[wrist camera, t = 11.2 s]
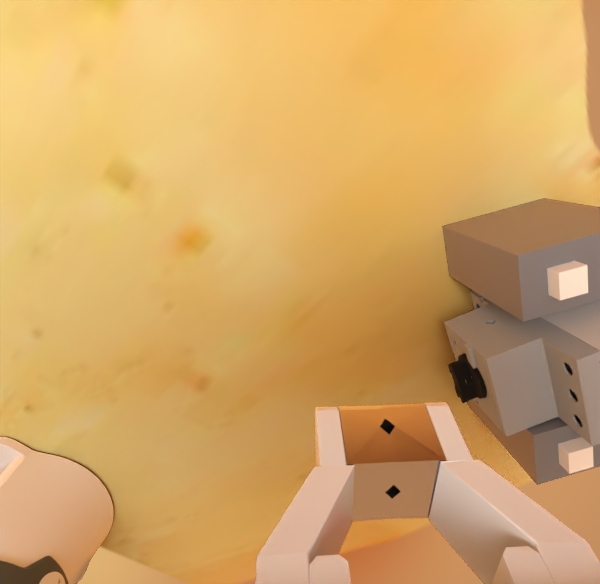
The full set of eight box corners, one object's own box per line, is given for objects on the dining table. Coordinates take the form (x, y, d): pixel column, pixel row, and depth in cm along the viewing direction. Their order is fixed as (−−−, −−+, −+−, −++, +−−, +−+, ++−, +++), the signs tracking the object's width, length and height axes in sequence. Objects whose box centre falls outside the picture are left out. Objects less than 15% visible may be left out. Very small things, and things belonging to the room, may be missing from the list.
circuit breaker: (411, 314, 43) (491, 394, 29) (546, 260, 43) (692, 314, 29) (431, 376, 46) (513, 477, 32) (558, 325, 46) (699, 404, 31)
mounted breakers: (467, 404, 47) (546, 495, 35) (442, 226, 41) (528, 259, 28) (555, 379, 48) (664, 460, 35) (544, 198, 41) (673, 219, 29)
